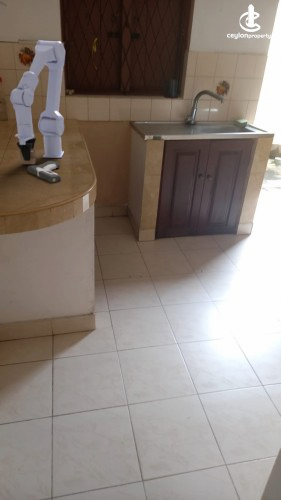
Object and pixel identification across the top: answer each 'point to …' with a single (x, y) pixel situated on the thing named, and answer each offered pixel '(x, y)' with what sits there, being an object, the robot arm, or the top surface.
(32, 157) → the walnut cube
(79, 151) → the top surface
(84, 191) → the top surface
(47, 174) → the handgun
